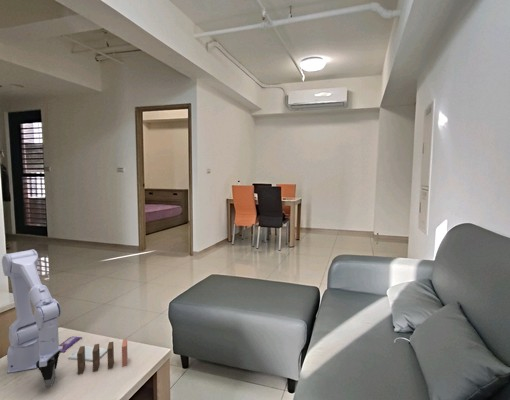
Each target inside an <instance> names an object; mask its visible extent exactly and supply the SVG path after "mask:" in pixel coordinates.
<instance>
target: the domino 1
mask: <svg viewBox="0 0 510 400" xmlns="http://www.w3.org/2000/svg"><path fill="white" fill-rule="evenodd" d="M50 359H51V360H53V359H55V357H54V356H52V357H51V358H50ZM55 379H56V369H55V364H54V367H53V374H52V378H51V379H50V380H45V388H48V387H52V386H53V383H54V381H55Z"/></svg>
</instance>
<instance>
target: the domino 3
mask: <svg viewBox="0 0 510 400" xmlns="http://www.w3.org/2000/svg"><path fill="white" fill-rule="evenodd" d="M93 347H94V348H93V351H92V353H93V362H92V372H93V373H94V372H95V373H96V372H98V371H99V367H100V364H101V359H100V351H99V348H100V343H95V344H94V345H93Z"/></svg>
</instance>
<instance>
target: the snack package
mask: <svg viewBox="0 0 510 400" xmlns="http://www.w3.org/2000/svg"><path fill="white" fill-rule="evenodd" d="M81 339H83V336H70V337H67V339H66V340H64V341H63V342H61V343H59V346H63V349H62V350H61V351H60V353H65V352H66V351H67V350H69V349H70V348H71V347H72V346H73V345H75V344H76V343H78V342H79V341H80V340H81Z"/></svg>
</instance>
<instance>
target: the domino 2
mask: <svg viewBox="0 0 510 400" xmlns="http://www.w3.org/2000/svg"><path fill="white" fill-rule="evenodd" d="M85 346H86V345H81V346H79V348H78V349H79V350H78V353H77V360H76V361H77V363H76V364H77V375H83V374H84V371H85V368H86V361H85Z"/></svg>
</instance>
